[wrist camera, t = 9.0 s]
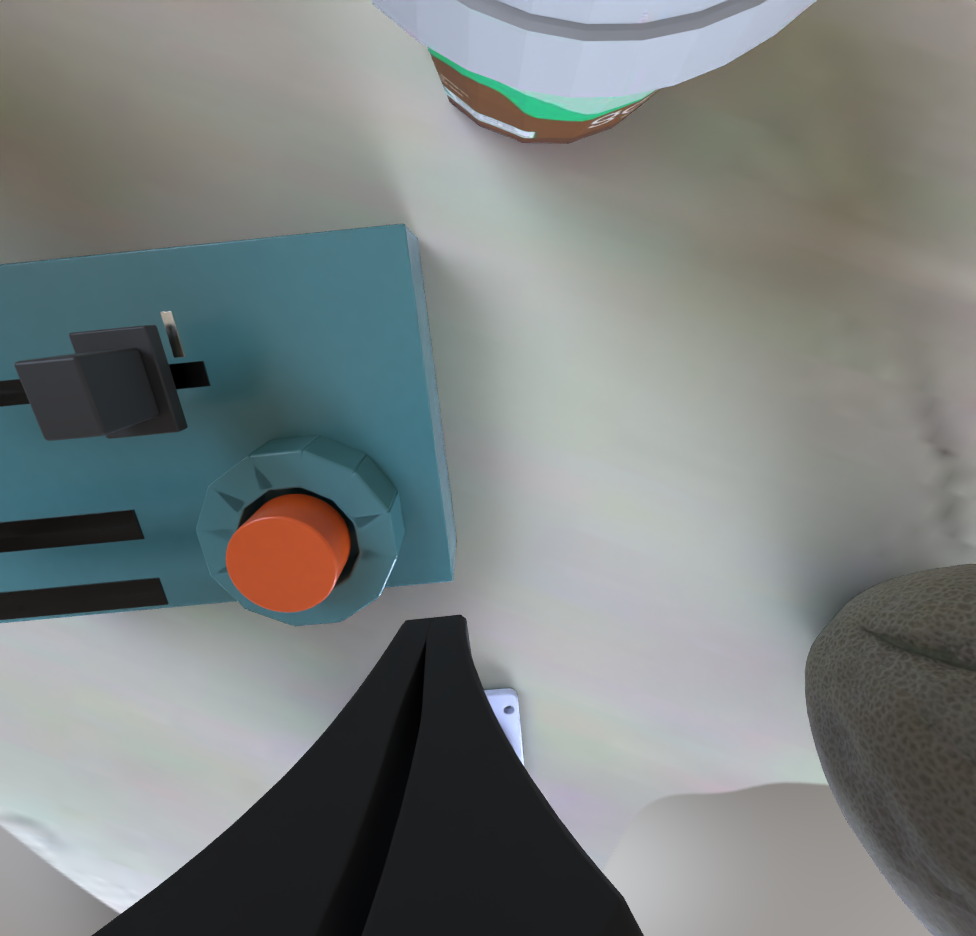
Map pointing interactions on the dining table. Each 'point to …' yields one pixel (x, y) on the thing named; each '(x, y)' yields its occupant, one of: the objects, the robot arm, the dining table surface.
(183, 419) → the slider
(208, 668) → the dining table surface
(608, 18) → the food container
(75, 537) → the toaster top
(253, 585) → the button
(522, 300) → the dining table surface
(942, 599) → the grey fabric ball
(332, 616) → the teal control box
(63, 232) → the dining table surface
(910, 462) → the dining table surface
